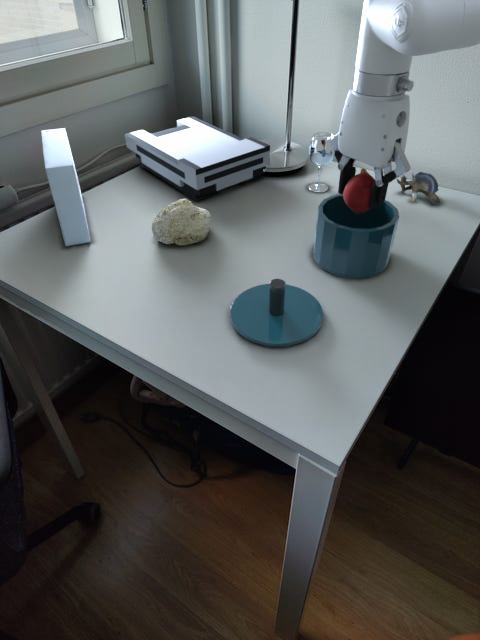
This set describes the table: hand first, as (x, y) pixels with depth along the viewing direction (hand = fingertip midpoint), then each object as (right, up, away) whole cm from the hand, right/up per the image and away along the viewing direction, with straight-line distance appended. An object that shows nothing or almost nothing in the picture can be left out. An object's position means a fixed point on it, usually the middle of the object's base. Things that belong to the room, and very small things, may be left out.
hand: (360, 197), depth 78 cm
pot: (0, -9, +8) cm, 12 cm away
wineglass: (-2, +10, +30) cm, 31 cm away
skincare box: (-55, 0, +20) cm, 59 cm away
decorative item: (-32, -4, +14) cm, 35 cm away
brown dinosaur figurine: (+19, +6, +25) cm, 32 cm away
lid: (-15, -20, -5) cm, 25 cm away
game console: (-31, +17, +38) cm, 52 cm away
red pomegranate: (0, -2, +2) cm, 3 cm away
